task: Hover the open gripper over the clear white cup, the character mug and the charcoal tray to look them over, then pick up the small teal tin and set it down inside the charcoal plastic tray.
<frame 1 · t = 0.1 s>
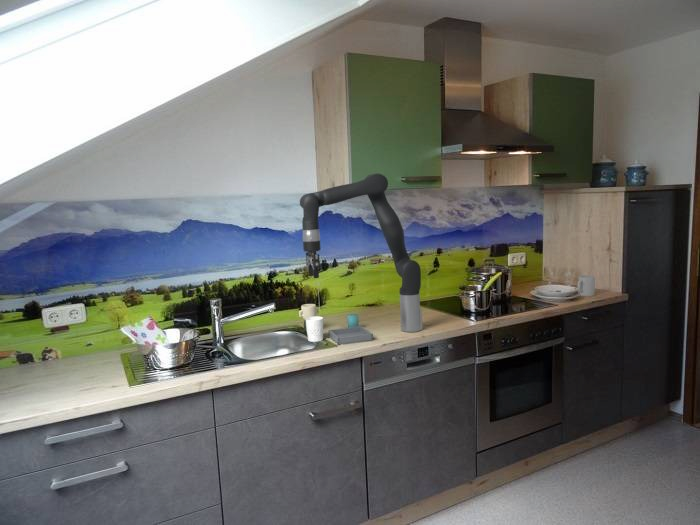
hand: (313, 276, 222), 29 cm above the worktop, tool pointing down, fingers open, 8 cm apart
mug: (584, 295, 297), on the worktop
tray: (350, 338, 228), on the worktop
white cup: (315, 340, 229), on the worktop
teal tin: (353, 329, 244), on the worktop
character mug: (310, 332, 244), on the worktop
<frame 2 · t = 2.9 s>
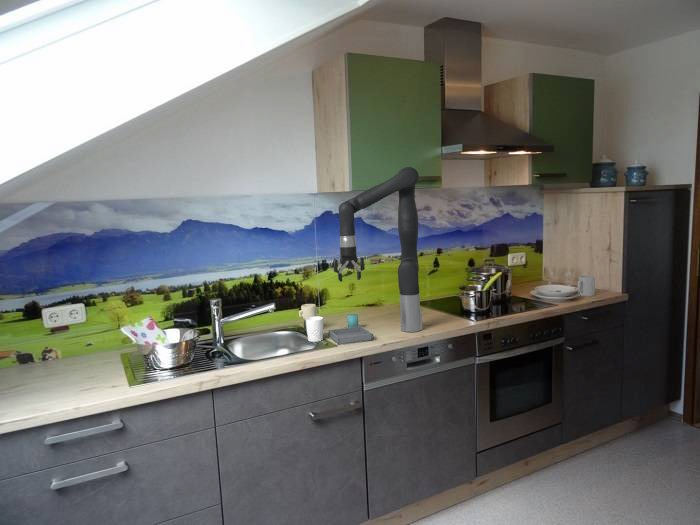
hand: (349, 280, 234), 25 cm above the worktop, tool pointing down, fingers open, 8 cm apart
nothing on the worktop moved.
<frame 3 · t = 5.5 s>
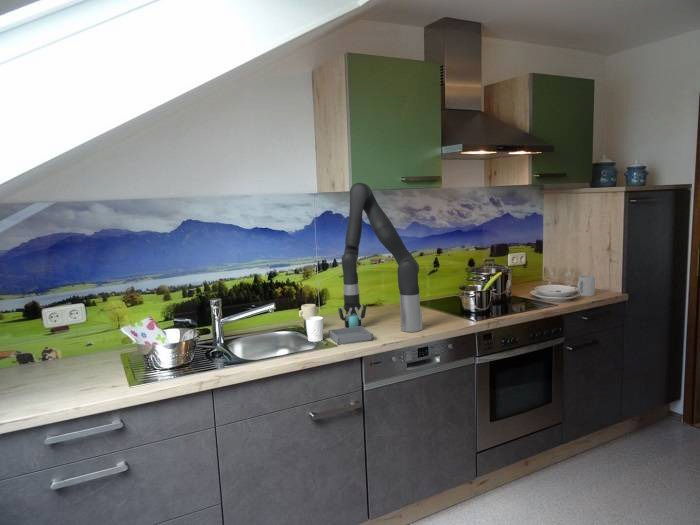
hand: (353, 327, 244), 1 cm above the worktop, tool pointing down, fingers closed on teal tin, 5 cm apart
teal tin: (353, 329, 244), on the worktop, touching gripper
everything else where it was.
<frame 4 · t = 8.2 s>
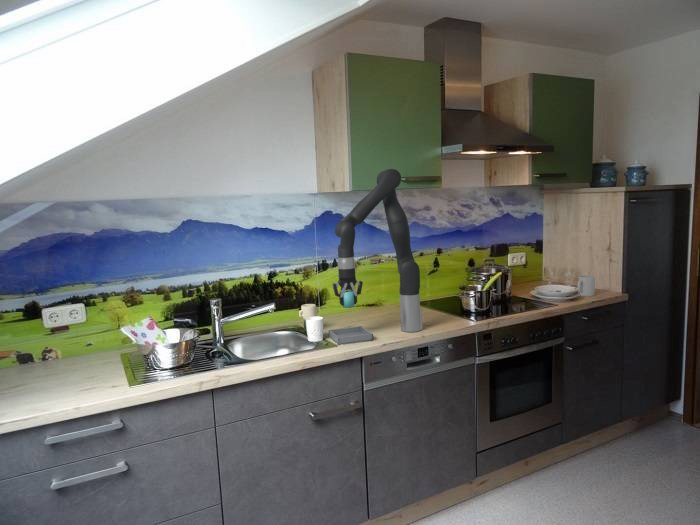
hand: (348, 304, 227), 15 cm above the worktop, tool pointing down, fingers closed on teal tin, 5 cm apart
teal tin: (348, 306, 227), point 14 cm above the worktop, touching gripper
everything else where it was.
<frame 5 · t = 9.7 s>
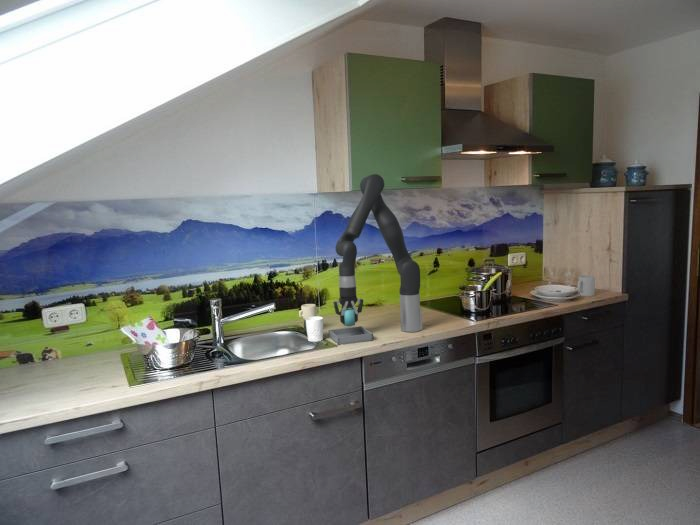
hand: (349, 322, 227), 7 cm above the worktop, tool pointing down, fingers closed on teal tin, 5 cm apart
teal tin: (349, 324, 228), point 6 cm above the worktop, touching gripper
everything else where it was.
when the fingers open (3 cm above the worktop, at t = 11.0 s): teal tin drops 1 cm, resting on tray.
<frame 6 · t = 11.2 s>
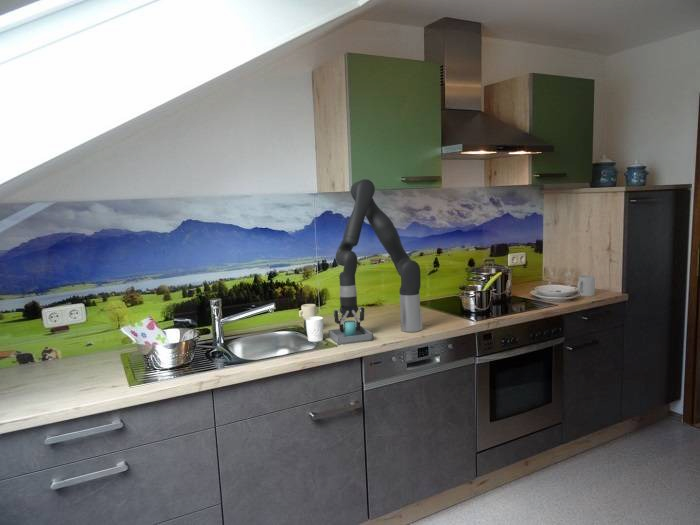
hand: (350, 331, 228), 3 cm above the worktop, tool pointing down, fingers open, 6 cm apart
teal tin: (350, 337, 228), point 1 cm above the worktop, touching tray
everything else where it was.
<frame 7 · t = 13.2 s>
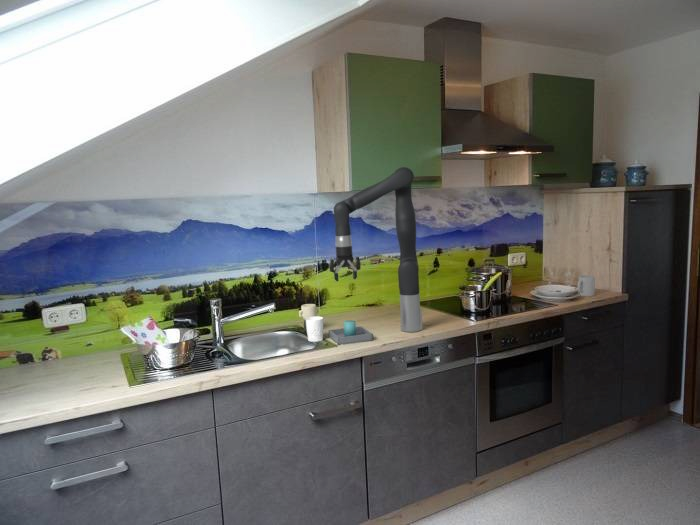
hand: (345, 280, 235), 25 cm above the worktop, tool pointing down, fingers open, 8 cm apart
nothing on the worktop moved.
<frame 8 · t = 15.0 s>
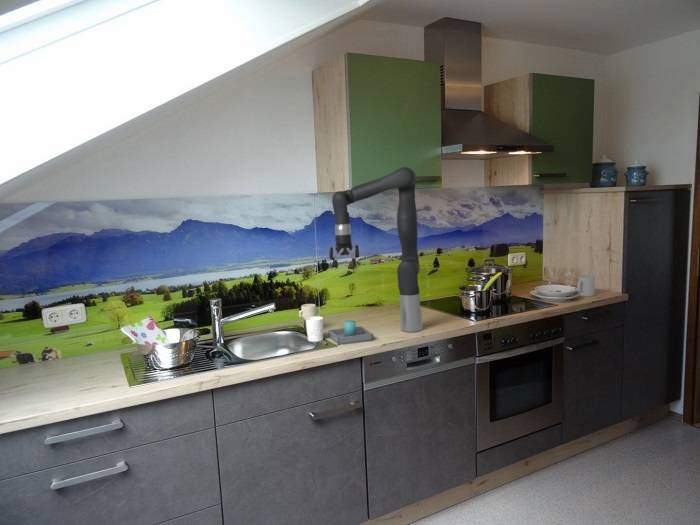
hand: (344, 267, 242), 30 cm above the worktop, tool pointing down, fingers open, 8 cm apart
nothing on the worktop moved.
at the end: teal tin inside the target area on the tray (0.0 cm from its centre), point 0.6 cm above the tray's base; teal tin tilted 0°; the gripper is holding nothing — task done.
